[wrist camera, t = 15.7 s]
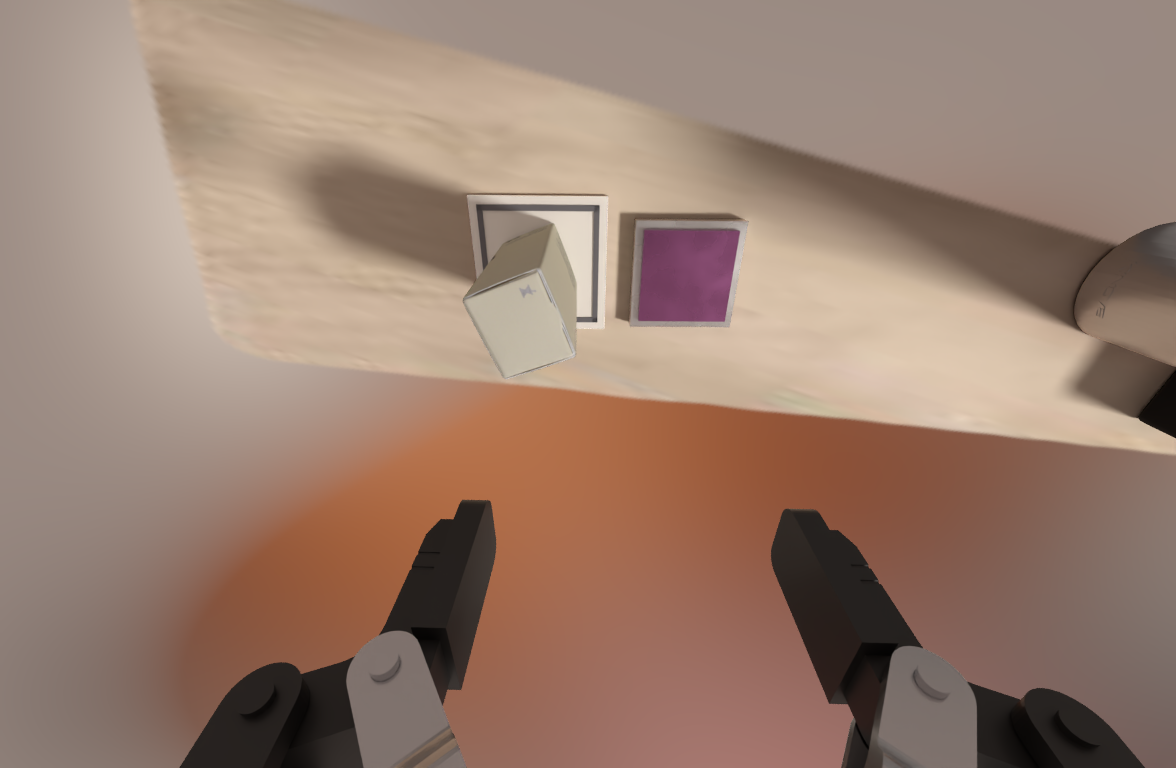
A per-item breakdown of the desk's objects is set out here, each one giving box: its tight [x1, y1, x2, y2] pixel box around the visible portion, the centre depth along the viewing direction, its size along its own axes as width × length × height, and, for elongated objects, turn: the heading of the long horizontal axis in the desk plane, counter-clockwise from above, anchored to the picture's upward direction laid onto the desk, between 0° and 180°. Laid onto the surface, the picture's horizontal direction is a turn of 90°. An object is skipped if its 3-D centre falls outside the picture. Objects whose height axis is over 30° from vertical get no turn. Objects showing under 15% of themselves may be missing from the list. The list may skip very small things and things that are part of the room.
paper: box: [467, 195, 608, 329], centre depth 33 cm, size 10×10×1 cm
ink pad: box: [629, 218, 748, 327], centre depth 33 cm, size 8×8×1 cm
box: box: [463, 223, 577, 379], centre depth 27 cm, size 5×4×13 cm
